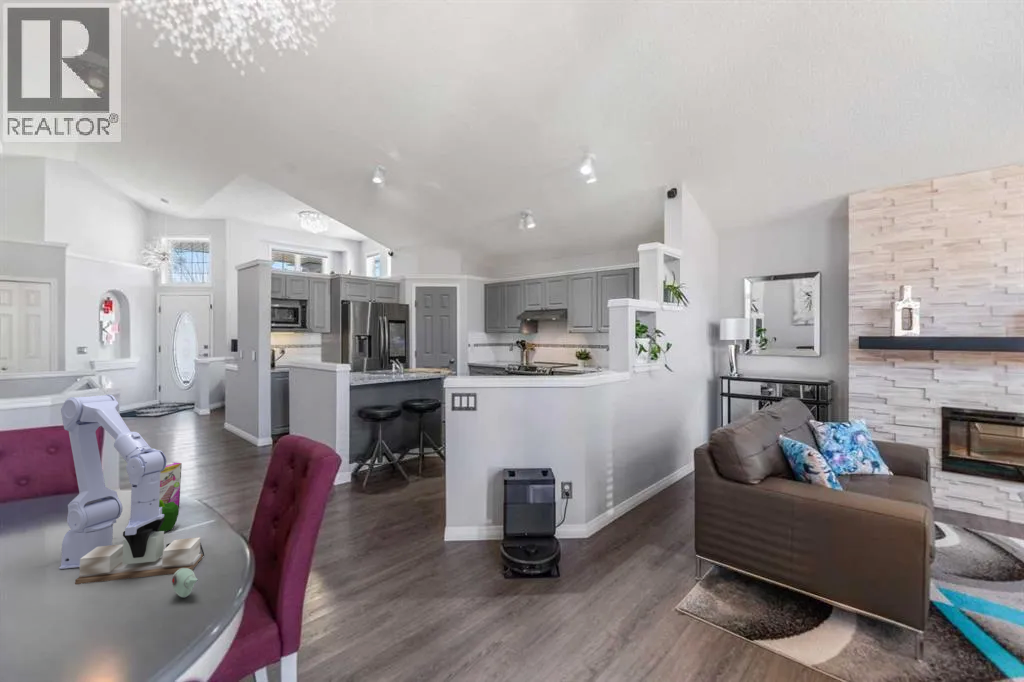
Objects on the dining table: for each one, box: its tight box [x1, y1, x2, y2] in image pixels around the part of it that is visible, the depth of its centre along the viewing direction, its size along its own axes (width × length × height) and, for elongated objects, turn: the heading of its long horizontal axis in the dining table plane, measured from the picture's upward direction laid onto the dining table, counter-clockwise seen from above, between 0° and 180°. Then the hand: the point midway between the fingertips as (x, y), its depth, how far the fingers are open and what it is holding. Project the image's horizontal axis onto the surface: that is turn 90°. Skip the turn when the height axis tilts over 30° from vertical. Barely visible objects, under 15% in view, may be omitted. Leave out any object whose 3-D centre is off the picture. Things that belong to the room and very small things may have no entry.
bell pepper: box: [159, 499, 180, 533], centre depth 141 cm, size 8×8×10 cm
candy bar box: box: [159, 462, 183, 508], centre depth 155 cm, size 11×5×16 cm, turn 172°
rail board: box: [74, 537, 204, 585], centre depth 116 cm, size 24×8×6 cm, turn 107°
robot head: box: [171, 568, 199, 598], centre depth 103 cm, size 8×4×7 cm, turn 57°
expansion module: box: [122, 531, 165, 565], centre depth 116 cm, size 4×7×6 cm, turn 107°
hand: (143, 552), depth 116 cm, fingers closed on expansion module, 4 cm apart
